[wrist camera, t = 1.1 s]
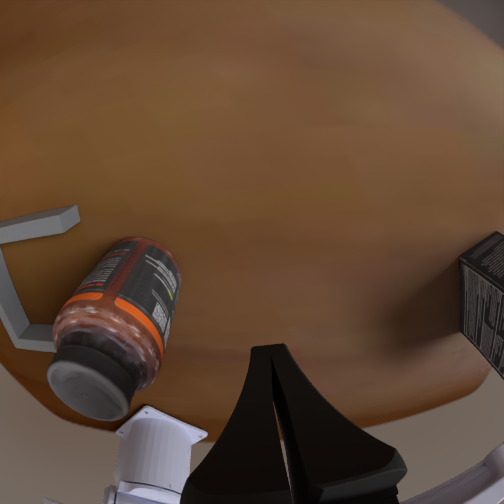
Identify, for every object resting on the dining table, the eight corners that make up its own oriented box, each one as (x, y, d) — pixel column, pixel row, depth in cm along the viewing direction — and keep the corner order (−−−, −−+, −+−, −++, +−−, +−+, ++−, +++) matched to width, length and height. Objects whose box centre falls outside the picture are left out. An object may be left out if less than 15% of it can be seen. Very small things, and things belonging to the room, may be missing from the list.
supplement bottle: (93, 275, 20) (17, 381, 9) (132, 216, 18) (41, 313, 8) (154, 321, 22) (117, 444, 11) (200, 270, 20) (176, 403, 10)
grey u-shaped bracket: (77, 204, 17) (59, 214, 15) (116, 336, 22) (107, 355, 20) (-14, 225, 17) (-31, 235, 15) (27, 332, 22) (16, 347, 19)
